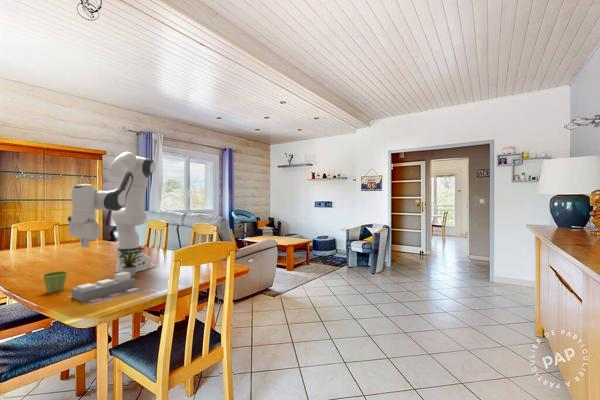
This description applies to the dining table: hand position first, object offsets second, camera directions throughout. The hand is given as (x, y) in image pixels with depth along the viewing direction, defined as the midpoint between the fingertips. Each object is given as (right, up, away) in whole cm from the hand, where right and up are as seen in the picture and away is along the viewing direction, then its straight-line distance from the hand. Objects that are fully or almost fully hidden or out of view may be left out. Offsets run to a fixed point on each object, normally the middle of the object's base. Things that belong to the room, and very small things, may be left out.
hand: (85, 247), depth 133 cm
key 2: (+14, -19, +7) cm, 24 cm away
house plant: (+5, -22, +26) cm, 34 cm away
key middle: (+10, -21, 0) cm, 23 cm away
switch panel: (+12, -22, -1) cm, 25 cm away
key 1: (+6, -21, -8) cm, 23 cm away
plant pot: (-16, -22, +2) cm, 27 cm away
